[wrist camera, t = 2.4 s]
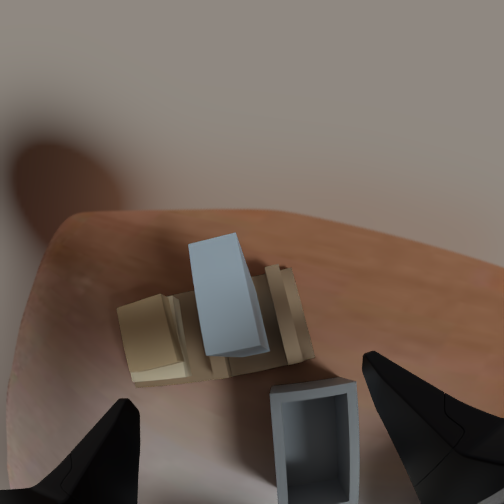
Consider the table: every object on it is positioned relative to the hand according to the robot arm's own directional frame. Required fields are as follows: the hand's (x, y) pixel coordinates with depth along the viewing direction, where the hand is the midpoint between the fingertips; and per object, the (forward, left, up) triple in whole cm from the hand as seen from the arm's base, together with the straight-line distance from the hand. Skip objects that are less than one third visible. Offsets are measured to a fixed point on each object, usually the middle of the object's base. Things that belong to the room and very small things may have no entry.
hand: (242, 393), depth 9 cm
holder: (+1, -6, -10) cm, 12 cm away
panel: (+1, +4, -10) cm, 11 cm away
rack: (-2, +5, -11) cm, 12 cm away
